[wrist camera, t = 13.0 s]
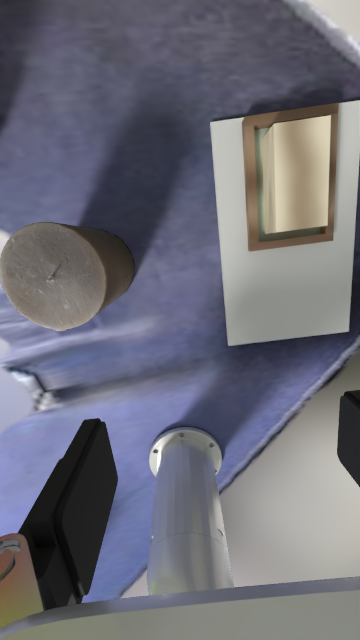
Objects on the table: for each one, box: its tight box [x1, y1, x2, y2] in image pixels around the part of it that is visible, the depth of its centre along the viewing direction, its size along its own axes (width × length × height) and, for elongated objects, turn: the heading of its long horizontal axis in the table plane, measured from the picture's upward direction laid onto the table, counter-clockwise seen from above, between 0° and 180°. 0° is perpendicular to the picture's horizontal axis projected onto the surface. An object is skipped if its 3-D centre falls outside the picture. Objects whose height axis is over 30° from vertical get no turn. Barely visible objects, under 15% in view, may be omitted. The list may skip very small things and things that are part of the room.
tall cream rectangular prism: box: [262, 115, 331, 234], centre depth 30 cm, size 6×11×4 cm, turn 7°
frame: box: [242, 103, 339, 251], centre depth 32 cm, size 15×11×2 cm
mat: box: [210, 100, 360, 346], centre depth 34 cm, size 29×18×1 cm, turn 7°
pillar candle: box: [0, 222, 134, 331], centre depth 28 cm, size 10×10×15 cm
